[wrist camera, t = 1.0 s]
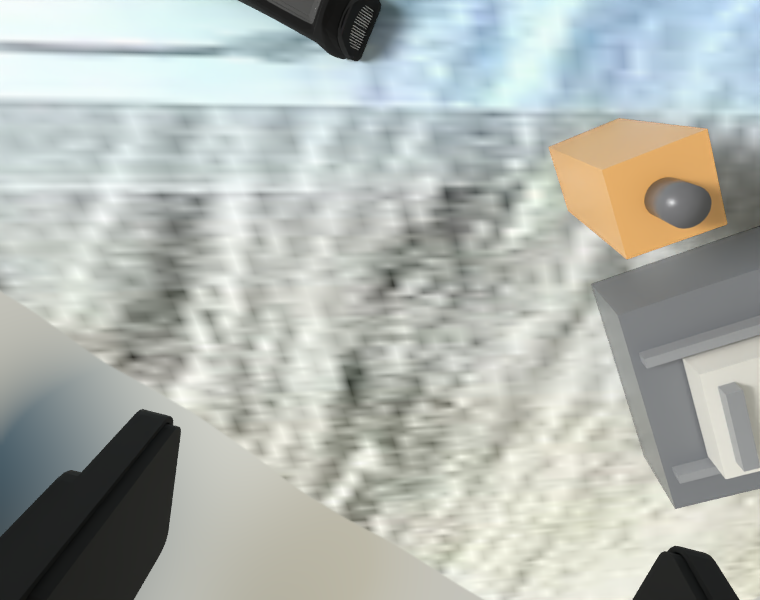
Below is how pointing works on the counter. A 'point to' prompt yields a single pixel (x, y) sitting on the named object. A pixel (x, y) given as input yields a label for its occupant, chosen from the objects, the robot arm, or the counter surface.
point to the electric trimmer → (326, 22)
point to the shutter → (728, 404)
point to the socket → (680, 352)
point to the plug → (641, 183)
